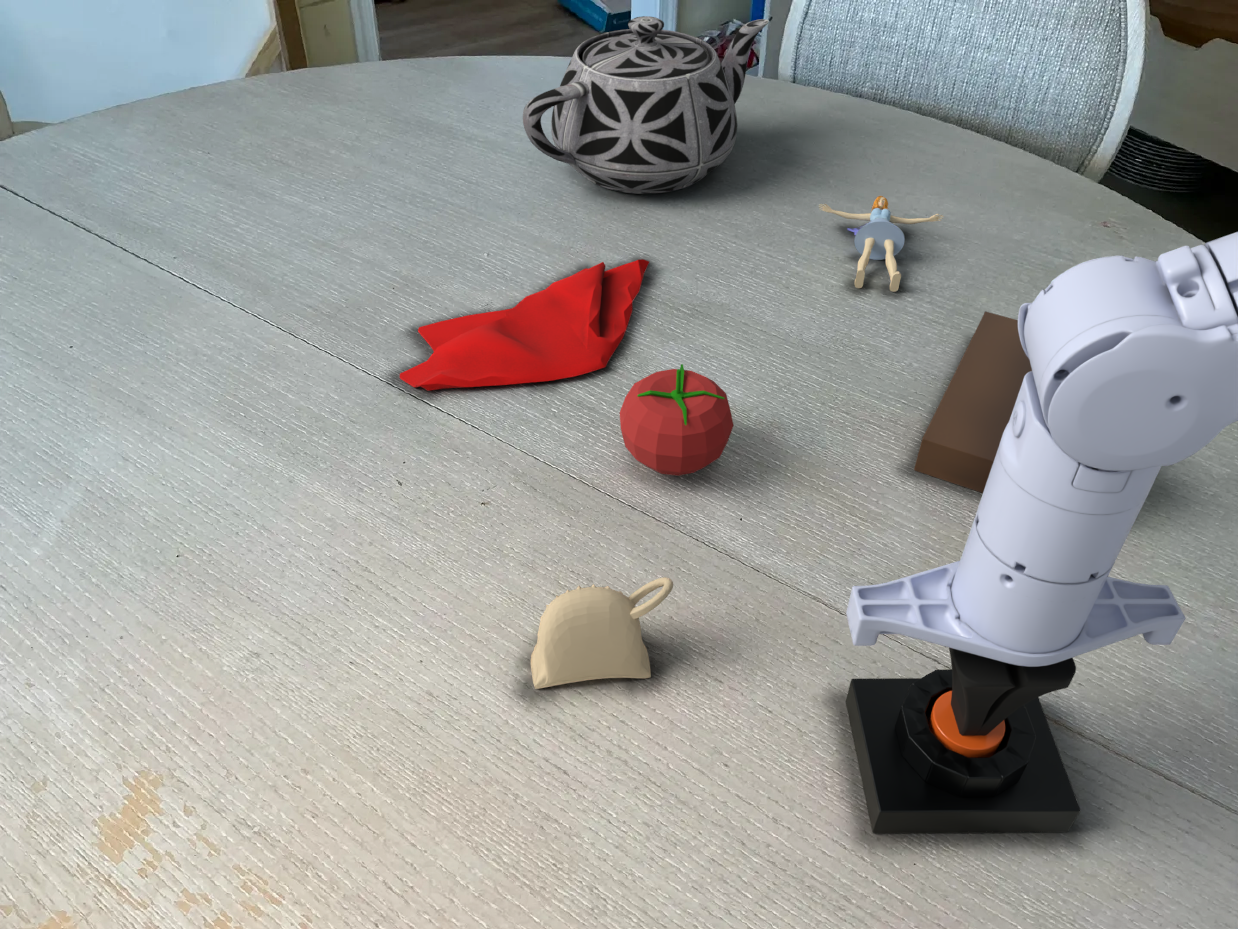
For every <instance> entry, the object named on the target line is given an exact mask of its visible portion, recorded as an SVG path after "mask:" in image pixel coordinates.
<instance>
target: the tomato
mask: <svg viewBox="0 0 1238 929" xmlns="http://www.w3.org/2000/svg"><path fill="white" fill-rule="evenodd" d="M619 422H620V431H621V435H622V439H623V443H624V447H625V449H626V450H628V452H629V453H630V454H631V455H632V457H633V458H634V459H635V460H636V461H637V462H639V463H640V464H642V465H644V466H645V467H647V468H648V469H651V470H652V471H655V472H657V473H659V474H661V475H668V476H676V477H680V476H684V475H691V474H693V473H696V472H698V471H700V470H702V469H704V468H705V467H707V466H709V465H711V464H712V463H713V462H715V461H717V460H718V459H720V458H721V456H722V454H723V452H724V451H725V448H726V447H727V444H728V443H729V440H730V437H731V434H732V432H733V428H734V425H735V424H734V421H733V416H732V411H731V407H730V403H729V398H728V396H727V393H726V392H725V391H724V390H723V389H722V388H721V387H720V386H719V384H717V382H715V381H714V380H713V379H711V378H709V377H707V376H705V375H703V374H701V373H698V372H696V371H693V370H689V369H685V367H684V364H683V363H681V364H680V367H679V368H670V369H664V370H658V371H655V372H654V373H651V374H649V375H647V376H646V377H643V378H642V379H640V380H638V381H636V382H635V383H633V384H632V386H631V388H630V389H629V391H628V392H627V394H626V395H625V398H624V400H623V403H622V405H621V408H620V411H619Z"/></svg>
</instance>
